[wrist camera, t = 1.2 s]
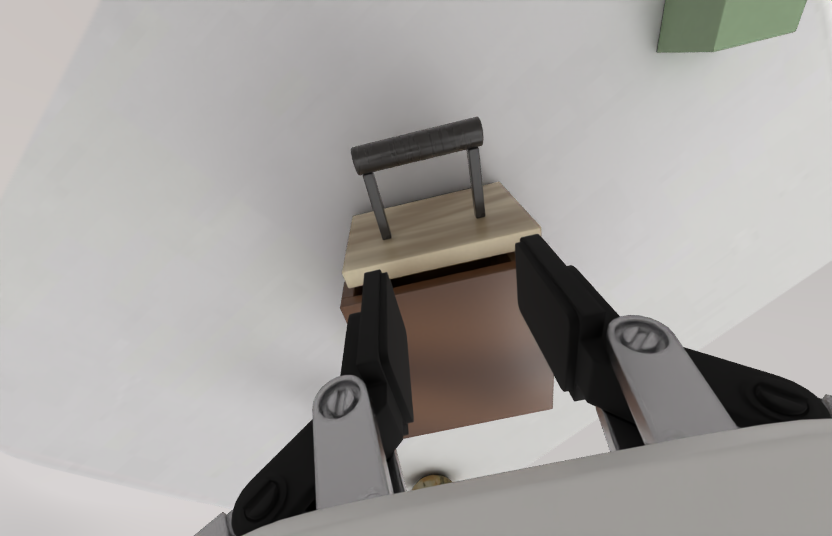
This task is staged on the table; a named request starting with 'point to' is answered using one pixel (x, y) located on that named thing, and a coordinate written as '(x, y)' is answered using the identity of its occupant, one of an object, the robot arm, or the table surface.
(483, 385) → the cabinet
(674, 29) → the block
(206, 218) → the table surface
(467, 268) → the drawer
